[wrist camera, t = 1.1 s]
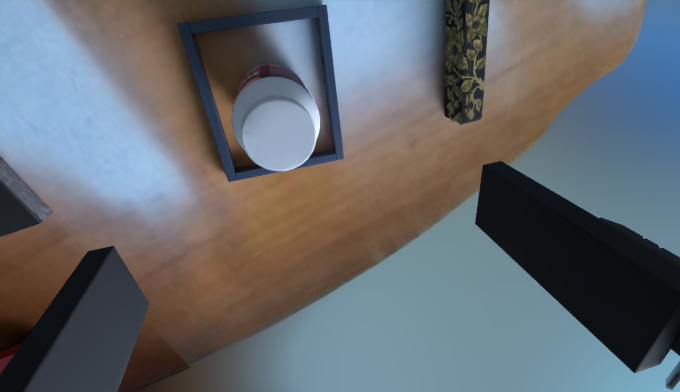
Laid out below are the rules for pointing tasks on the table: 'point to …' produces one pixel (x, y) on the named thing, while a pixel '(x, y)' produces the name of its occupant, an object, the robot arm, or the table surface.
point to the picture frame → (18, 203)
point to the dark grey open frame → (207, 97)
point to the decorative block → (465, 58)
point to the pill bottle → (275, 117)
